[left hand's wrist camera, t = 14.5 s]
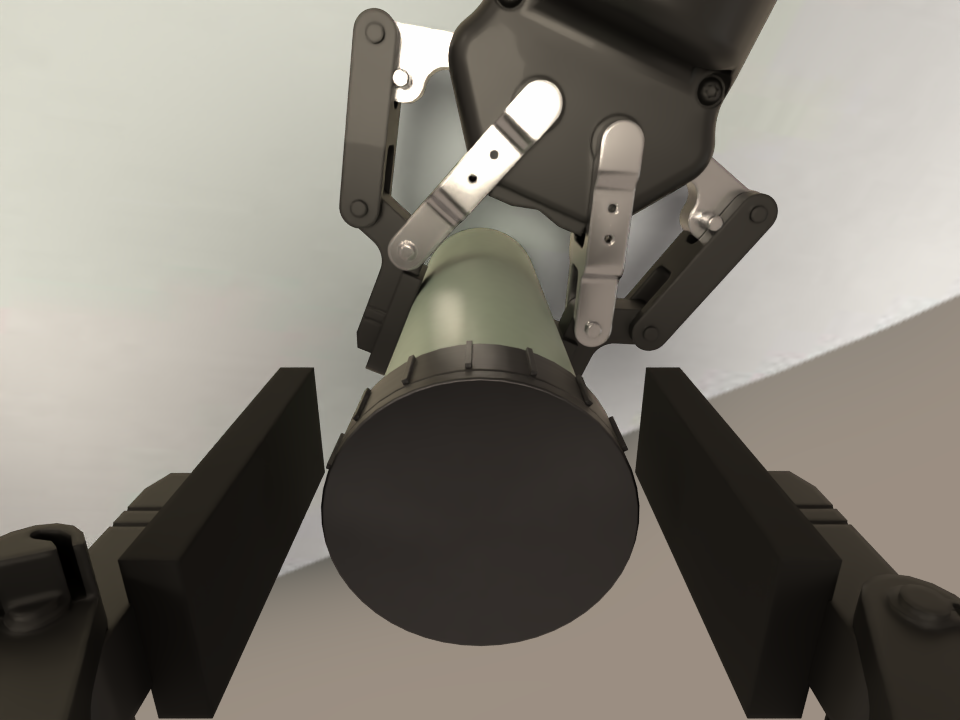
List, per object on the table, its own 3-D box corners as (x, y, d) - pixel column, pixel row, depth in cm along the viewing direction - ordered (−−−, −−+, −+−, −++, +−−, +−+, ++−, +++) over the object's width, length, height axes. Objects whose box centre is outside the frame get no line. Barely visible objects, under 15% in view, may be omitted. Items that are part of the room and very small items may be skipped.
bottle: (530, 337, 28) (598, 617, 12) (424, 332, 28) (348, 606, 12) (539, 230, 26) (634, 388, 10) (426, 224, 26) (340, 374, 10)
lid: (648, 359, 11) (676, 397, 9) (591, 597, 13) (606, 661, 11) (346, 323, 11) (324, 356, 9) (334, 571, 13) (313, 633, 11)
